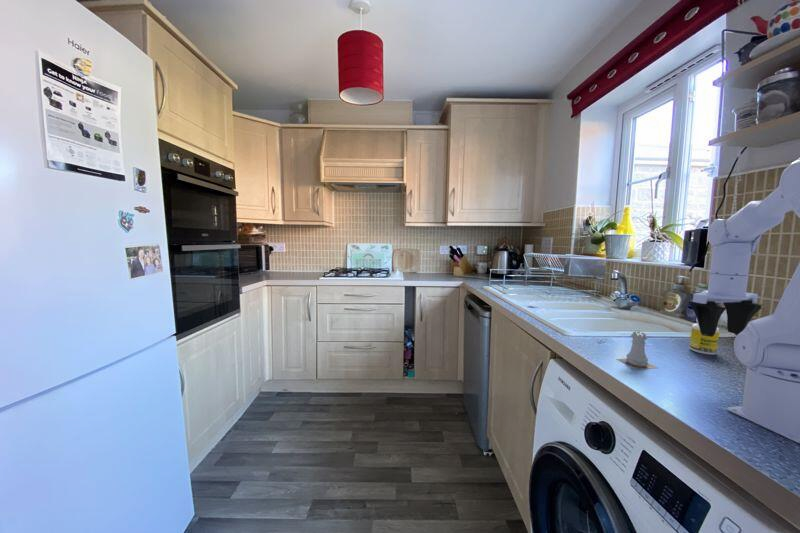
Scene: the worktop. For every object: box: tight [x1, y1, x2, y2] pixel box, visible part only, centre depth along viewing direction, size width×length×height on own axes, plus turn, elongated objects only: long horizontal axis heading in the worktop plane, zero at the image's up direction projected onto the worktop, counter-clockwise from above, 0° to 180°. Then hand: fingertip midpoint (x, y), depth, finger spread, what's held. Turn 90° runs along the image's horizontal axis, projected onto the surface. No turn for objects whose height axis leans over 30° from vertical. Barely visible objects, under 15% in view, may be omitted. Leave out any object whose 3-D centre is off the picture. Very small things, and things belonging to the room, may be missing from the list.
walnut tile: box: [615, 358, 659, 370], centre depth 74 cm, size 6×6×1 cm
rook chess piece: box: [625, 330, 649, 367], centre depth 73 cm, size 4×4×8 cm
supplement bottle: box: [688, 318, 720, 356], centre depth 82 cm, size 5×5×10 cm
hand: (721, 333), depth 66 cm, fingers open, 7 cm apart
